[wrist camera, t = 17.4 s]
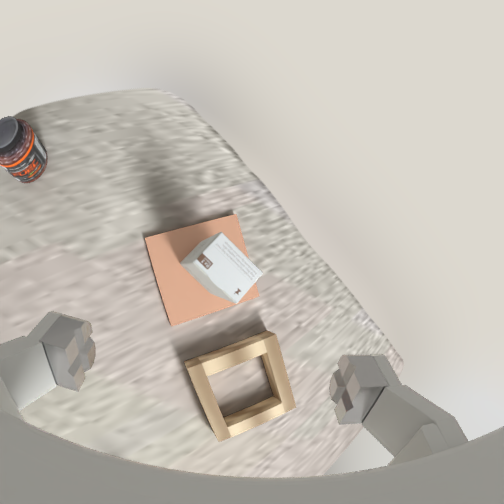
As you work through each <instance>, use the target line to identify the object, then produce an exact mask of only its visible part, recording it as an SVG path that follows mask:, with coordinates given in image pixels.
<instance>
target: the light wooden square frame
mask: <svg viewBox="0 0 504 504" xmlns="http://www.w3.org/2000/svg"><path fill="white" fill-rule="evenodd" d="M260 355H261V357H262V360H263V363H264V367H265V370H266V373H267V376H268V380H269V383H270V386H271V389H272V393H273V396H272V397H270V398H268V399H266V400H264V401H262V402H259V403H257V404H255V405H253V406H250V407H248V408H246V409H243V410H241V411H238V412H236V413H234V414H231V415H229V416H226V417H224V418H223V416H222V414H221V411H220V409H219V406H218V404H217V401H216V399H215V396H214V394H213V391H212V389H211V386H210V384H209V381H208V378H207V376H209V375H212V374H215V373H217V372H220V371H222V370H225V369H228V368H230V367H233V366H235V365H238V364H240V363H243V362H245V361H248V360H250V359H252V358H255V357H257V356H260ZM184 363H185V366H186V368H187V371H188V373H189V376H190V378H191V381H192V383H193V386H194V388H195V391H196V393H197V396H198V398H199V400H200V403H201V405H202V407H203V410H204V412H205V414H206V417H207V419H208V421H209V423H210V426H211V428H212V430H213V432H214V434H215V436H216V437H217V439H218V441H219V442H220V441H223V440H225V439H228V438H230V437H233V436H235V435H238V434H240V433H243V432H245V431H247V430H249V429H252V428H254V427H256V426H259V425H261V424H263V423H265V422H267V421H269V420H271V419H274V418H276V417H278V416H280V415H282V414H284V413H286V412H288V411H290V410H292V409H294V408H296V405H295V401H294V397H293V394H292V390H291V387H290V383H289V379H288V376H287V372H286V369H285V365H284V361H283V358H282V354H281V351H280V347H279V343H278V340H277V336H276V334H274V333H272V332H270V331H264V332H262V333H259V334H257V335H254V336H252V337H249V338H247V339H244V340H242V341H239V342H237V343H234V344H231V345H229V346H226V347H223V348H221V349H218V350H215V351H213V352H210V353H207V354H204V355H201V356H199V357H196V358H193V359H190V360H187V361H184Z"/></svg>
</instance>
